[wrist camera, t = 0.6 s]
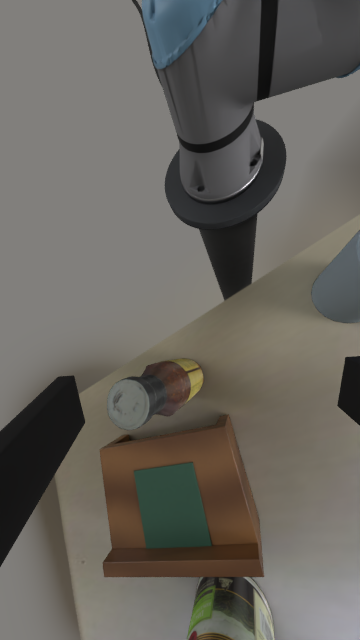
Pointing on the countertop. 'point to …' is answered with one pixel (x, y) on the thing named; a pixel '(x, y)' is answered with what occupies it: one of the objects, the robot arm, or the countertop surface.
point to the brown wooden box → (180, 506)
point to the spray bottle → (340, 285)
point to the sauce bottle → (154, 392)
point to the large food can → (230, 611)
